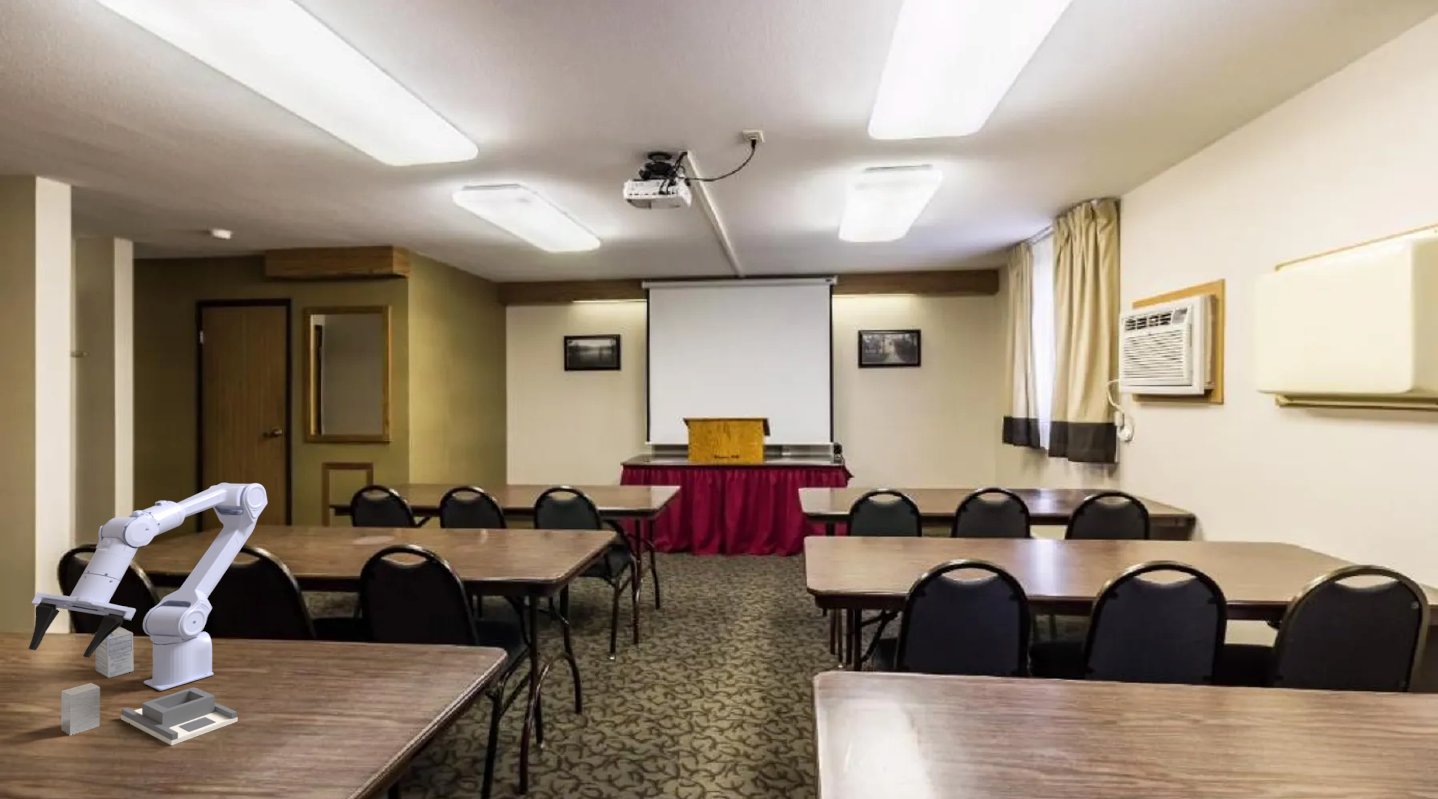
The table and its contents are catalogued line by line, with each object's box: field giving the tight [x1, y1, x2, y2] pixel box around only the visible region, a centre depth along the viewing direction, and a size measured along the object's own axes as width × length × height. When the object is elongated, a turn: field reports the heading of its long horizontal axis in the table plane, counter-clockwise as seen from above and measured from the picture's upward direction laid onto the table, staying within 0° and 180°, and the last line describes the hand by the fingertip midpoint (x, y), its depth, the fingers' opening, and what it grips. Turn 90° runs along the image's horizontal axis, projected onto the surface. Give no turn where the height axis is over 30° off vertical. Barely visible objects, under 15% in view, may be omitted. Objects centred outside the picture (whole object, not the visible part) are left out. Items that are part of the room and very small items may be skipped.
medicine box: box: [94, 626, 134, 679], centre depth 146 cm, size 8×4×9 cm, turn 58°
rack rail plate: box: [120, 687, 239, 746], centre depth 123 cm, size 10×20×4 cm, turn 60°
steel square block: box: [60, 682, 101, 736], centre depth 120 cm, size 4×4×7 cm
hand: (59, 653), depth 120 cm, fingers open, 7 cm apart
